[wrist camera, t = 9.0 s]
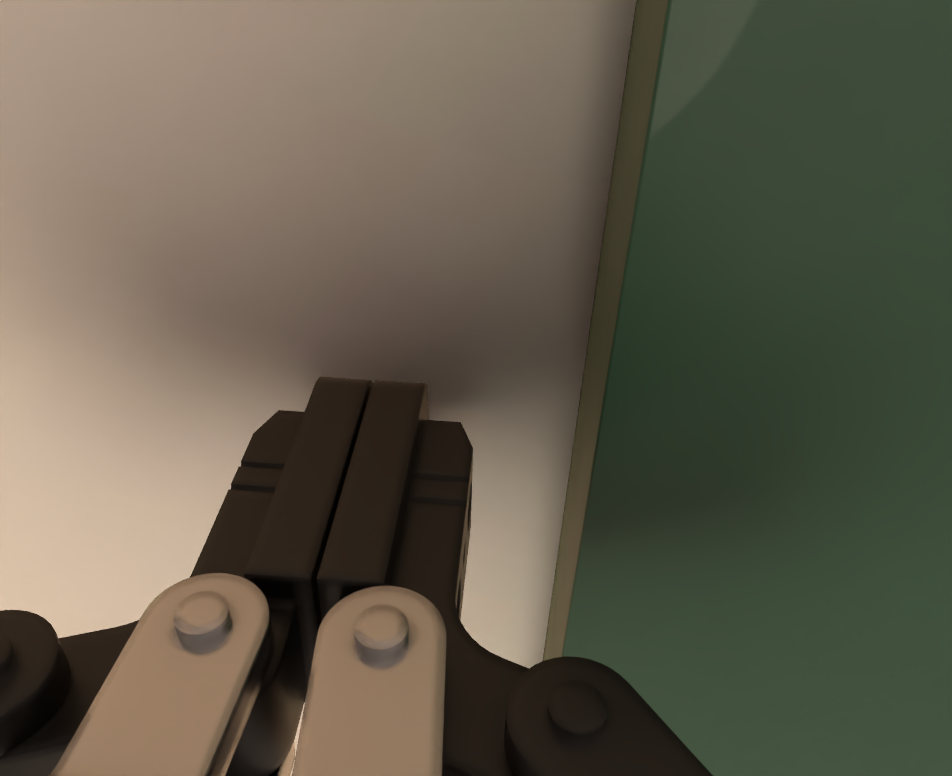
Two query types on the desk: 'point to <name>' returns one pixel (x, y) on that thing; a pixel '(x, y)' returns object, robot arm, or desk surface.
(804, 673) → the book
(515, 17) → the desk surface
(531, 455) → the desk surface
